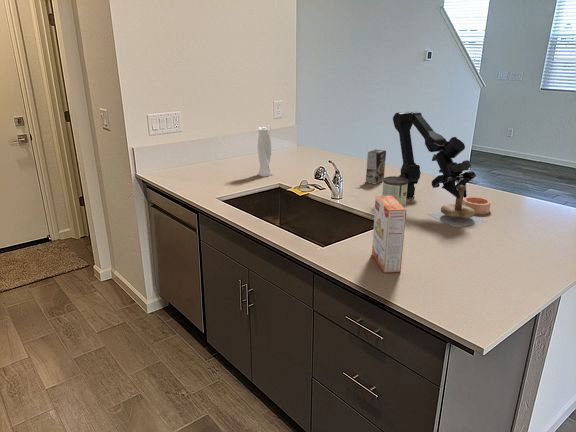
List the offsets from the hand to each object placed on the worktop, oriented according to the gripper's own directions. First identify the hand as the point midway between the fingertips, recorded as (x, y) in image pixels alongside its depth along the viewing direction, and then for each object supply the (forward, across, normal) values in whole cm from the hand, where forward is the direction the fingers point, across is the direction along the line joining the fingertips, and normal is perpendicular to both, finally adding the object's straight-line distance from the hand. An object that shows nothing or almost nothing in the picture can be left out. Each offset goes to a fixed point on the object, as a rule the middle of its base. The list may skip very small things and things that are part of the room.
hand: (462, 197), depth 179 cm
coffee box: (-36, +1, +51) cm, 62 cm away
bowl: (+2, +15, +11) cm, 19 cm away
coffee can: (-7, -18, +21) cm, 28 cm away
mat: (+6, 0, +8) cm, 10 cm away
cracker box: (+21, -51, -8) cm, 56 cm away
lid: (+4, 0, +6) cm, 7 cm away
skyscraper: (-60, -47, +76) cm, 107 cm away
